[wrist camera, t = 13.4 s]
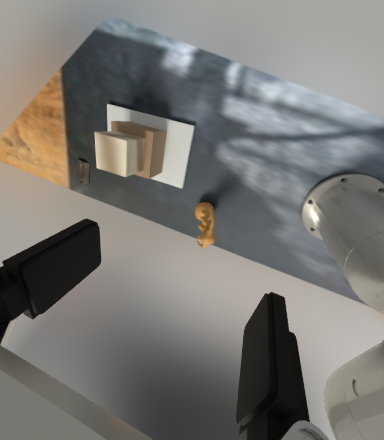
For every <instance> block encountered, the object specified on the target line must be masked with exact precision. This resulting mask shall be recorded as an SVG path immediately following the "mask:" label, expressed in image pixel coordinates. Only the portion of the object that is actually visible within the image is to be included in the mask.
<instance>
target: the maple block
mask: <svg viewBox="0 0 384 440" xmlns="http://www.w3.org/2000/svg"><path fill="white" fill-rule="evenodd" d="M145 142H146V138H142V137H138V136H134V135H131V134H127V133H123V132H119V131H108V132H95V146H96V163H97V168H98V169H102V170H105V171H108V172H111V173H114V174H118V175H121V176H124V177H128V176H130V175H133V174H135V173H138V172H140V171H142V170H144V157H145Z"/></svg>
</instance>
